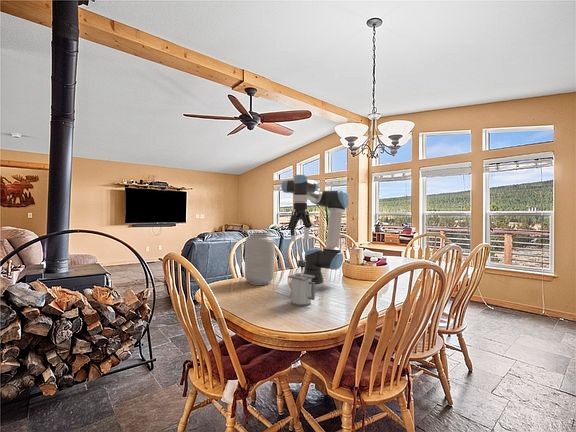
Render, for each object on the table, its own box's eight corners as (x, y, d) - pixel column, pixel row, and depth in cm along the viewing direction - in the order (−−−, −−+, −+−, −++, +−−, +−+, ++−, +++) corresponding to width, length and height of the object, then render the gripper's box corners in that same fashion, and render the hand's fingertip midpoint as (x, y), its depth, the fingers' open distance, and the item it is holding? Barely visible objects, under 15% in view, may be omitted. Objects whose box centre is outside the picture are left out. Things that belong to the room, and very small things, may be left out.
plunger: (299, 289, 168) (300, 259, 167) (310, 291, 164) (310, 260, 163) (292, 291, 163) (293, 260, 162) (302, 294, 158) (303, 262, 158)
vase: (279, 281, 209) (280, 233, 208) (262, 288, 192) (263, 235, 191) (256, 277, 219) (257, 231, 218) (238, 283, 202) (239, 233, 201)
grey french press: (298, 298, 171) (299, 272, 170) (319, 304, 162) (319, 276, 162) (287, 303, 162) (287, 276, 162) (308, 308, 154) (308, 280, 154)
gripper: (306, 202, 181) (306, 237, 182) (281, 202, 161) (281, 241, 162) (317, 202, 177) (317, 238, 178) (293, 202, 157) (292, 243, 158)
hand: (300, 240), depth 170 cm, fingers open, 13 cm apart
